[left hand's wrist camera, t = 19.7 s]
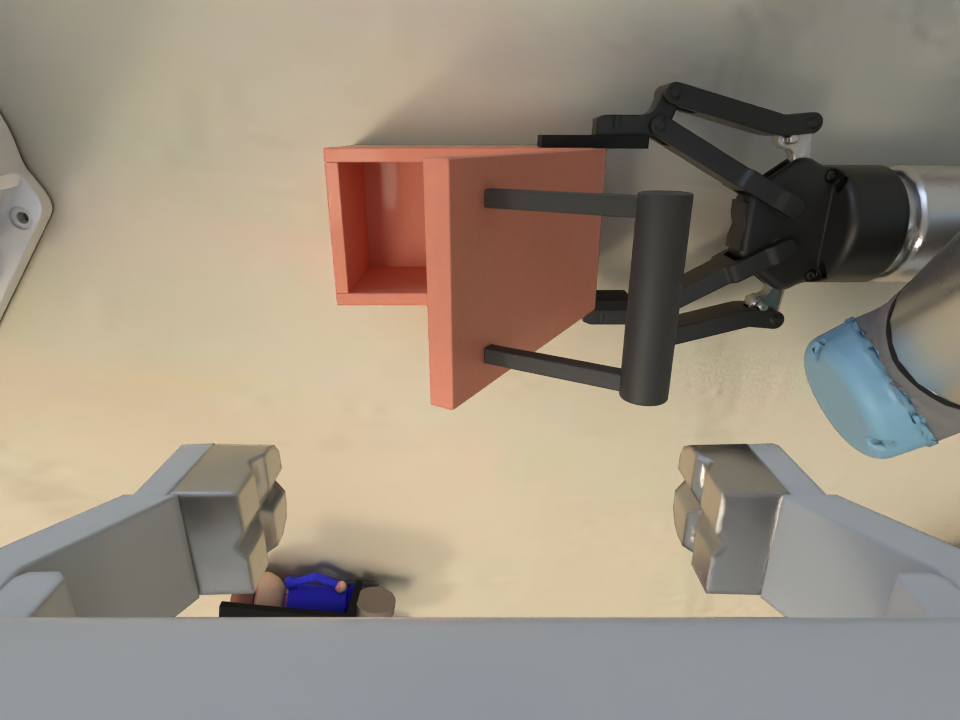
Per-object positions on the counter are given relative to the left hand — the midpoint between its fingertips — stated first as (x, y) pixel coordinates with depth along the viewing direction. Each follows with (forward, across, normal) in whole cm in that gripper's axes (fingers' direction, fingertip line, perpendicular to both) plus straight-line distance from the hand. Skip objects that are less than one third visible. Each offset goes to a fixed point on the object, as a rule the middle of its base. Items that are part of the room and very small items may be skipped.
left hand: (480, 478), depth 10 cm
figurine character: (+37, +16, +36) cm, 54 cm away
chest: (+37, +1, 0) cm, 37 cm away
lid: (+21, -2, 0) cm, 21 cm away
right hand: (+31, -4, 0) cm, 31 cm away
